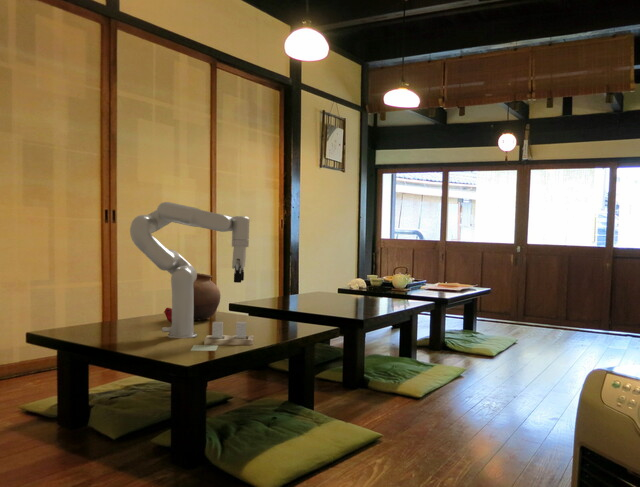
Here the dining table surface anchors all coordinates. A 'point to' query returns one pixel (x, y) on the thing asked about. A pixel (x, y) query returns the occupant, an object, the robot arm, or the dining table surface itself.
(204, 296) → the pottery
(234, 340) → the pallet
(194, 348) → the rubber mat
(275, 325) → the dining table surface
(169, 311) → the decorative bird figurine
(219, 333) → the block
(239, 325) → the billet
